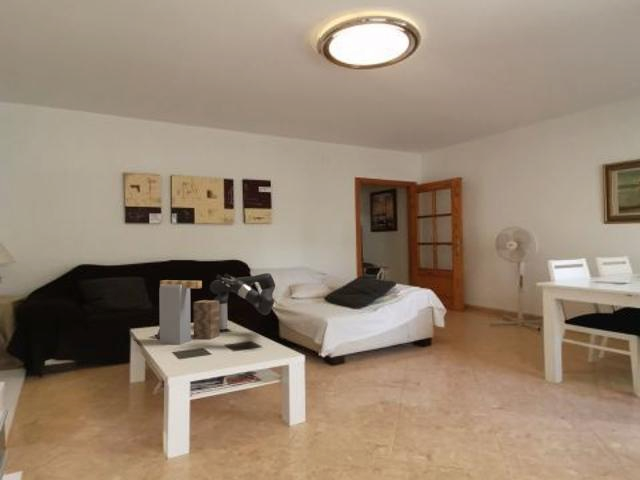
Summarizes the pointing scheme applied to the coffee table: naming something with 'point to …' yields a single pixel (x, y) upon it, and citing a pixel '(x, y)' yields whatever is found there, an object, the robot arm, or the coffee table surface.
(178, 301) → the grey stand
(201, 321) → the walnut step
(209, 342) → the coffee table surface
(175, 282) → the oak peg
